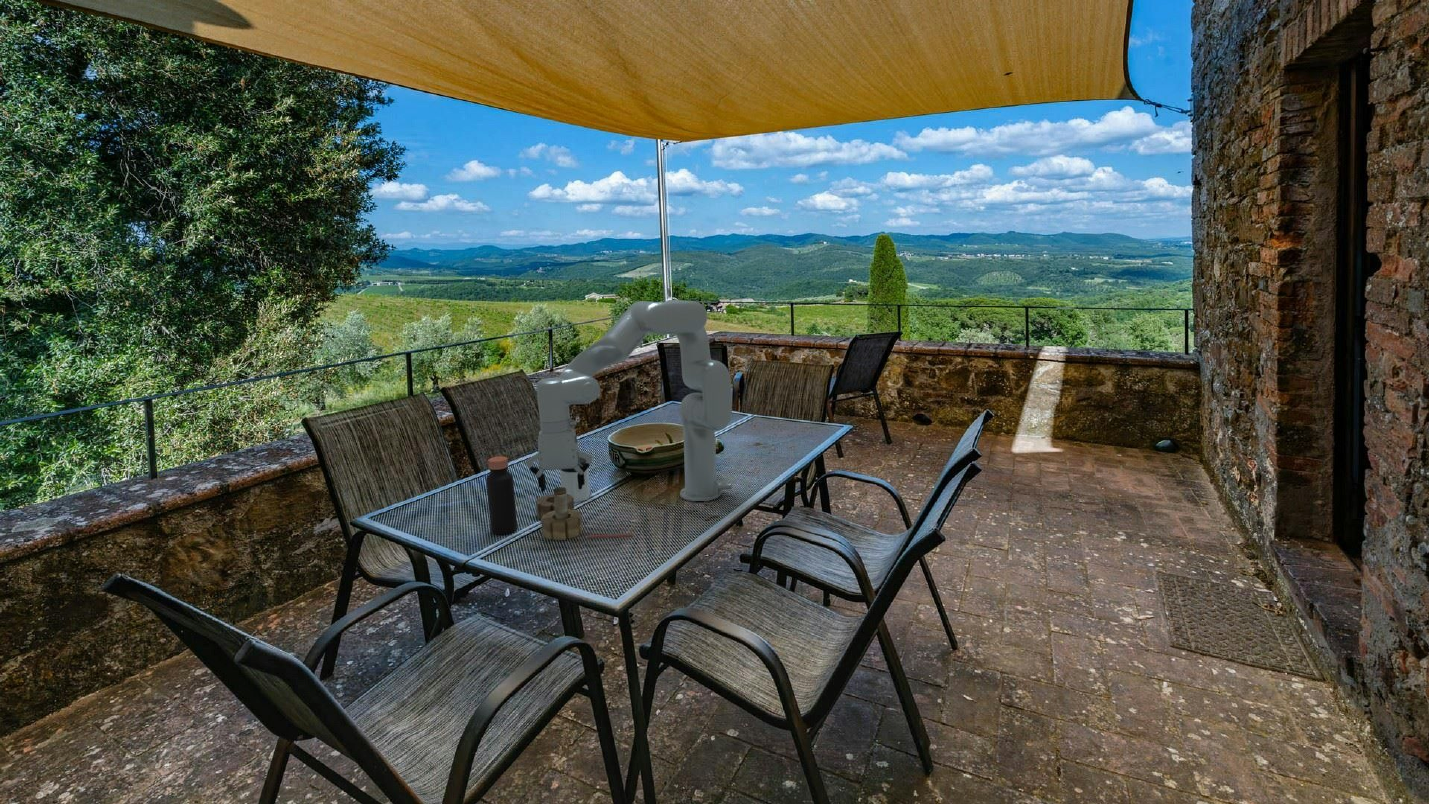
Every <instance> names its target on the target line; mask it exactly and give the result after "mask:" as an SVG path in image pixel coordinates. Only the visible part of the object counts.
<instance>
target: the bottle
mask: <svg viewBox="0 0 1429 804" xmlns="http://www.w3.org/2000/svg"><path fill="white" fill-rule="evenodd" d="M487 463H488V470H489V471H490V473H489V474H488V476H486V478H485V483H486V492H487V503H488V514H489V524H490V532H491V533H492V534H493V533H494V534H493V535H496V534H497V536H503V535H502V534H504V535H508V533H509V534H512V533H514V532H515V531H516V530H517V529H518V520H517V518H518V517H517V509H516V499H515V498H516V497H515V487H514V485H515V484H514V476H513V474H512V473H511V472H510V471H508V469H509V459H508V457H507V456H494V457H490V458H488V459H487Z"/></svg>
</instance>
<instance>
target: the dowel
mask: <svg viewBox="0 0 1429 804" xmlns="http://www.w3.org/2000/svg"><path fill="white" fill-rule="evenodd" d="M553 494H554V502H555V516H556V520H564V519H567V518H568V509H567V495H566V488H564V487H561V486H560V487H556V488H553Z"/></svg>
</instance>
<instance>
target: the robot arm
mask: <svg viewBox="0 0 1429 804" xmlns="http://www.w3.org/2000/svg"><path fill="white" fill-rule="evenodd" d="M707 322H708V312H707V310H706V308H705V306H704V305H703V304H702V303H700V302H698V301H694V300H681V299H669V300H665V301H664V302H659V301H644V300H643V301H642V300H639V301H635V302H634V303H633V304H631V305H630V306H629V307H628V308H627V309H626V310H625V312H623V314H622V315H620V317H619V318H618V320H617V321H616V322H614V324H613V325H612V326H611V327H610V328H609V330H608V331H607V332H606V333H605V334H604V335H603V336H602V337H601V338H600V339H598V340H596V341H595V342H594V343H592V344H591V345H589V346H587V347H586V348H585V349H584V350H582V351H580V352H579V354H577V355H576V356H575V357H574V358H573V359H572V360H571V361H570V362H569V363H568V364H567V366H565V368H564V369H562V372H561V373H560V374H559V376H558V377H546V378H542V379H540V380H539V381H537V383H536V396H537V404H538V413H539V414H538V415H539V416H538V417H539V423H540V424H539V425H540V430H539V432H538V438H537V441H538V442H537V453H536V454H534V455H532V456H530V457H529V458H527V459H526V460H525V465H526V466H527V468H528V469H529V471H530V472H531V473H532V474H533V475H535V477H536V478H537V482H538V488H539V489H540V490H541V491H540V492H541V493H544V492H545V491H546V490H547V489H546V488H547V484H546V483H547V482H546V474H545V473H544V472H545V471H555V470H557V471H558V470H561V469H571V468H574V469H575V470H576V471H577V472H578V475H577V478H578V488H579V489H582V486H583V485H584V484H585V480H584V472H585V471H586V470H587V469H589V468H590V465H591V463H592V461H593V458H594V455H592V454H590V453H587V452H584V451H582V450H580V448H579V443H578V442H579V441H578V438H577V434H576V433H577V432H576V430H575V428H573V427H574V426H577V420H573V419H572V418H571V416H570V415H571V414H570V405H587V404H590V403H592V402H594V401H596V400H597V399H598V397H599V396H600V393H601V386H600V383H599V382H598V380H597V379H596V378H595V377H594V375H596V374H597V373H599V372H600V371H601V370H603V369H605V368H607V367H609V366H612V365H615V364H618V363H620V362H623V361H625V360H627V359H628V358H629V357H630V356H631V354H632V353H633V352H634V351H635V350H636V349H637V347H638V346H639V345H640V344H641V343H642V342H643V340H645V338H646V337H647V336H648V335H649V334H651V335H659V336H660V335H663V336H664V335H675V336H676V338H677V339H678V343H679V349H680V360H681V361H680V363H681V376H682V377H681V378H682V381H683V383H684V385H685V386H686V387H688V388H689V389H692V390H695V391H699V392H692V393H689V394H687V395H686V396H684V397H683V398H682V400H681V403H680V406H679V415H680V419H681V421H680V422H681V425H682V431H683V432H682V433H683V453H684V454H683V456H684V457H683V458H684V460H683V461H684V462H683V463H684V488H682V489H681V490H680V491H679V493H680V495H679V496H680V497H681V498H682V499H684V500H686V501H689V502H695V501H704V502H709V501H710V500H711V501H714V500H716V499H715V498H717V499H719V498H720V497H721V496H722V494H721V493H722V490H733V489H732V487H733V486H732V485H733V484H732V482H727V481H719V480H718V477H717V451H716V446H717V445H716V444H717V443H716V433H715V431H716V432H717V431H718V432H720V431H722V430H725V429H726V428H727V427H728V426H729V424H730V422H731V419H732V415H733V414H732V413H733V404H732V403H733V402H732V401H733V400H732V398H733V397H732V382H731V379H732V378H731V374H730V372H729V369H728V367H727V366H726V365H725V364H724V362H723V363H722V362H721V361H719V360H715V359H712V357H711V350H710V341H709V336H708V332H707V330H706V329H705V325H706V324H707ZM580 457H581V458H584V459H586V463H585V464H584V465H583V466H582V465H581V464H580V463H579V462H580ZM536 461H538V466H539V468H538V467H537V466H536V465H534V462H536ZM720 495H721V496H720ZM719 496H720V497H719ZM718 497H719V498H718ZM713 499H714V500H713ZM711 501H710V502H711Z"/></svg>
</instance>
